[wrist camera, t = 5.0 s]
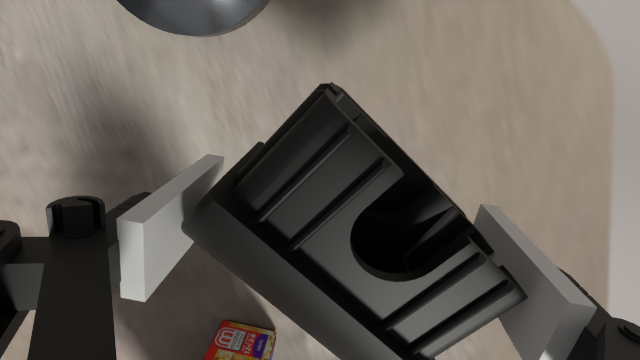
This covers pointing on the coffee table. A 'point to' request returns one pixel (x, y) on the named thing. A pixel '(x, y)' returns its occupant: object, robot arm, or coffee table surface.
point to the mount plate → (195, 15)
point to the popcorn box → (241, 343)
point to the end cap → (352, 238)
